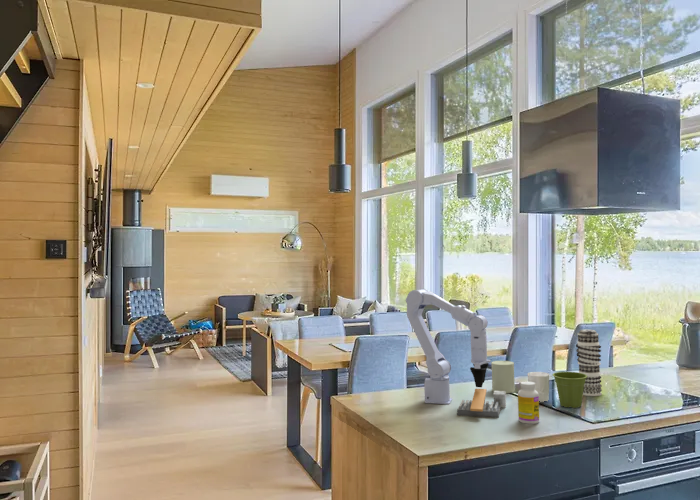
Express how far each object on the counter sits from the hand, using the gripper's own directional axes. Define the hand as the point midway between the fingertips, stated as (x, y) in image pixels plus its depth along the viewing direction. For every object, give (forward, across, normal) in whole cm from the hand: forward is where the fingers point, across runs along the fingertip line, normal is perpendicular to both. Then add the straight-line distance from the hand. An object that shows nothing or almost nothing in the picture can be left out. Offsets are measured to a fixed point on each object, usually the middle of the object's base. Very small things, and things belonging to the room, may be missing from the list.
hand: (480, 384), depth 210 cm
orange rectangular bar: (+4, -10, 0) cm, 11 cm away
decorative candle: (+8, +28, -39) cm, 49 cm away
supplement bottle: (+8, -17, -17) cm, 26 cm away
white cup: (+8, +13, -20) cm, 26 cm away
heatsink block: (+8, -10, 0) cm, 13 cm away
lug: (+8, 0, -7) cm, 10 cm away
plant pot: (+8, +7, -31) cm, 33 cm away
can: (+8, +26, -6) cm, 28 cm away
